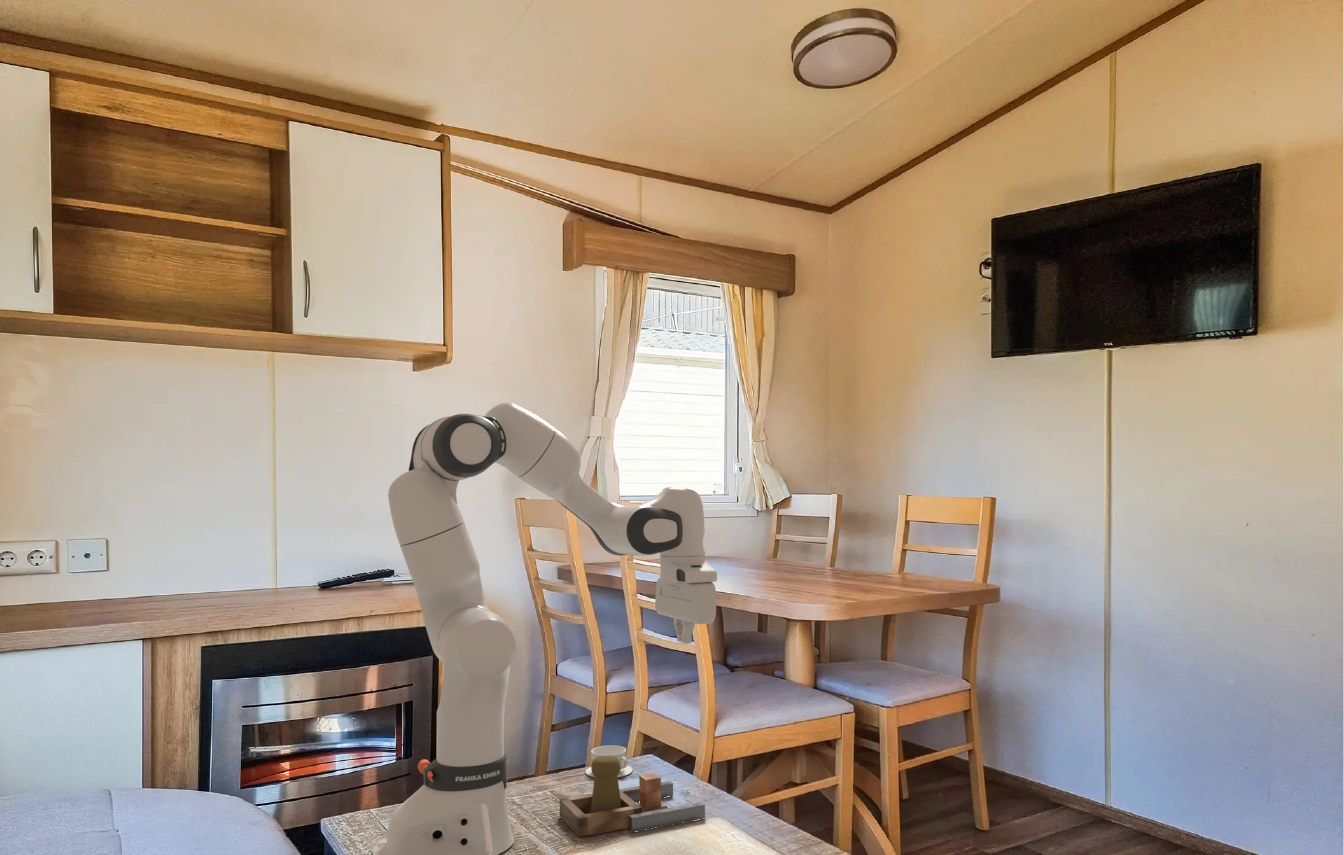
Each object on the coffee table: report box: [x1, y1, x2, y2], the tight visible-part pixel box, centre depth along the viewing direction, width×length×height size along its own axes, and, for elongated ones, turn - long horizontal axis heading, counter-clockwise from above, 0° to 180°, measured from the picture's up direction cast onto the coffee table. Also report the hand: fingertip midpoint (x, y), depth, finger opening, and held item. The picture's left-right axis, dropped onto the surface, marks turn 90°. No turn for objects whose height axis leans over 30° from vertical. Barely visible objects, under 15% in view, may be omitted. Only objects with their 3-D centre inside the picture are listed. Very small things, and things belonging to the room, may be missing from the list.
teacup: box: [584, 744, 634, 778], centre depth 182 cm, size 10×10×5 cm
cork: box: [590, 755, 622, 813], centre depth 154 cm, size 6×6×11 cm
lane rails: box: [619, 780, 706, 833], centre depth 157 cm, size 14×15×2 cm
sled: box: [559, 772, 669, 838], centre depth 154 cm, size 18×11×6 cm, turn 115°
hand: (684, 642), depth 167 cm, fingers closed
